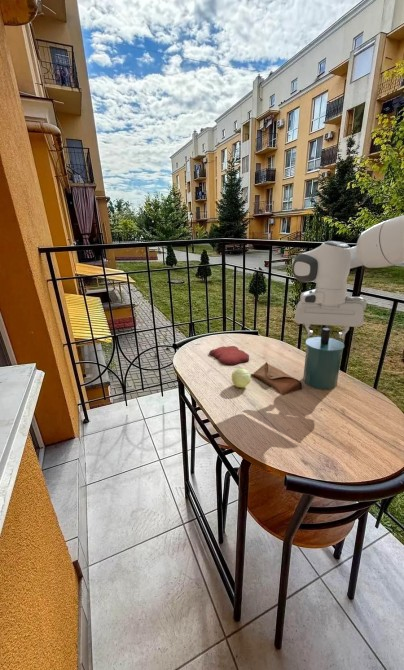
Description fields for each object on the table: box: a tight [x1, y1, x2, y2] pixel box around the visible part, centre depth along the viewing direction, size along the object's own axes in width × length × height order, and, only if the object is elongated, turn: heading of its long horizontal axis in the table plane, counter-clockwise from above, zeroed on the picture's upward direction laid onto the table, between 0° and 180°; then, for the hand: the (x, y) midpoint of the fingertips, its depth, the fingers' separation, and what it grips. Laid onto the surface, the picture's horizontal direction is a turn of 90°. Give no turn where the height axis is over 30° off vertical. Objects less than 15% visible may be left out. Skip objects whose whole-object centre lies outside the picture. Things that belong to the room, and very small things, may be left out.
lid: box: [304, 327, 345, 352], centre depth 92 cm, size 12×12×6 cm
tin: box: [302, 345, 343, 391], centre depth 96 cm, size 11×11×14 cm
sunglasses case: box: [250, 361, 303, 396], centre depth 99 cm, size 18×7×7 cm
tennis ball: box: [231, 368, 252, 388], centre depth 97 cm, size 6×7×7 cm
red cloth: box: [208, 345, 250, 366], centre depth 121 cm, size 18×14×2 cm
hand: (325, 337), depth 92 cm, fingers open, 8 cm apart
